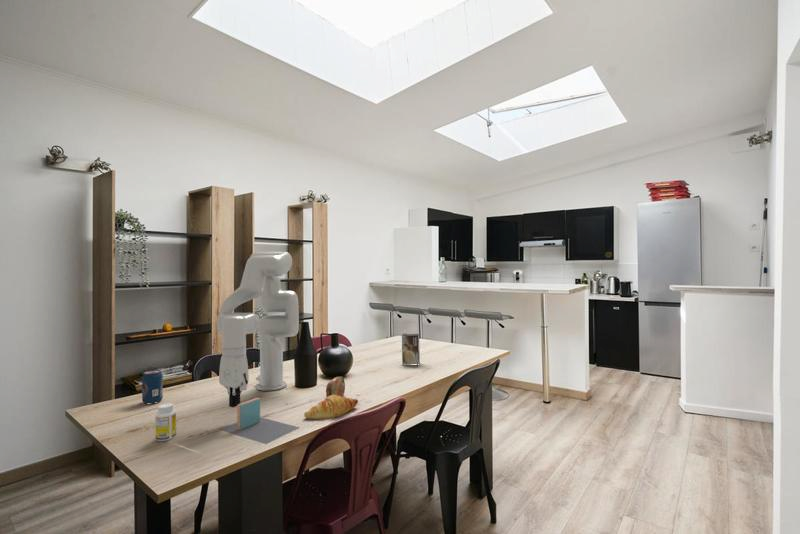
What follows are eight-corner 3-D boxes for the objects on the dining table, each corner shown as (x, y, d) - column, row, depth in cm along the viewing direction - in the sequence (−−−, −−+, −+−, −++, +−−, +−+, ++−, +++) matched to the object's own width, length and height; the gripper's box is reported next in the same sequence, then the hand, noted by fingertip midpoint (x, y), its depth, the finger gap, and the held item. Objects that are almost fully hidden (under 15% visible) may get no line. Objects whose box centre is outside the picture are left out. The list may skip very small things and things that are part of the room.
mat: (218, 430, 132) (218, 429, 132) (254, 416, 144) (254, 415, 144) (266, 444, 121) (266, 443, 121) (299, 428, 133) (299, 427, 133)
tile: (237, 429, 132) (237, 404, 132) (257, 421, 139) (257, 397, 138) (240, 430, 131) (240, 405, 131) (260, 421, 138) (260, 398, 138)
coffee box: (420, 363, 221) (420, 333, 221) (418, 365, 215) (418, 335, 215) (403, 362, 223) (403, 333, 223) (401, 365, 216) (401, 335, 216)
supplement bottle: (172, 433, 130) (171, 401, 130) (179, 437, 126) (179, 404, 126) (152, 438, 125) (152, 405, 125) (159, 443, 122) (159, 409, 122)
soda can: (139, 402, 160) (139, 371, 160) (159, 398, 165) (159, 368, 165) (145, 406, 155) (145, 374, 155) (165, 401, 160) (165, 371, 160)
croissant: (308, 433, 137) (312, 415, 134) (297, 412, 144) (300, 395, 141) (361, 417, 151) (366, 400, 148) (348, 398, 157) (352, 382, 154)
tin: (332, 406, 153) (332, 384, 153) (324, 406, 154) (324, 384, 154) (345, 394, 168) (345, 374, 168) (338, 394, 169) (338, 373, 169)
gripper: (210, 351, 139) (211, 405, 139) (239, 356, 131) (239, 413, 131) (229, 348, 145) (230, 399, 145) (258, 352, 138) (258, 406, 138)
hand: (234, 405), depth 138 cm, fingers closed
